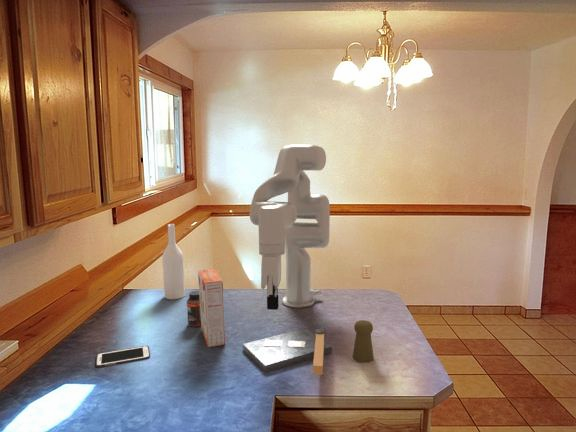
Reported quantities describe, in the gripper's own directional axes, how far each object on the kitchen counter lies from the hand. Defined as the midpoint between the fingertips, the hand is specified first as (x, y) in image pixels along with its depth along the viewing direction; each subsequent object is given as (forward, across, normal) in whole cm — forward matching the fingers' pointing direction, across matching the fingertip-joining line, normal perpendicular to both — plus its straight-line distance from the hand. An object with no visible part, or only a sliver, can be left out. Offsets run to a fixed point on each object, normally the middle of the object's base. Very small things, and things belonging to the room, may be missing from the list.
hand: (272, 308), depth 128 cm
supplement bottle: (+13, -17, -29) cm, 36 cm away
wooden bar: (+9, +9, +14) cm, 19 cm away
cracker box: (+13, -7, -21) cm, 26 cm away
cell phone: (+14, +8, -43) cm, 46 cm away
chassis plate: (+13, +1, +4) cm, 14 cm away
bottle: (+13, -44, -46) cm, 65 cm away
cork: (+13, +3, +26) cm, 30 cm away
